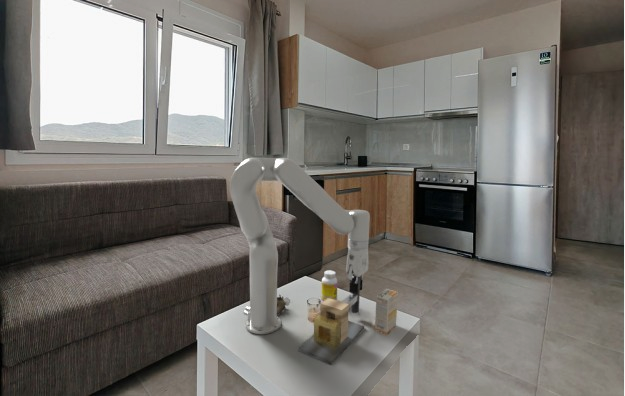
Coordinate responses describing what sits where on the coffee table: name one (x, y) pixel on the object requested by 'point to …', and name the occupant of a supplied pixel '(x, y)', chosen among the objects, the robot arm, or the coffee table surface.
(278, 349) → the coffee table surface
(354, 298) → the crank handle
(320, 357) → the block
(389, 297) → the supplement box
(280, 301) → the eagle figurine
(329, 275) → the supplement bottle
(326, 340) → the yellow square frame
